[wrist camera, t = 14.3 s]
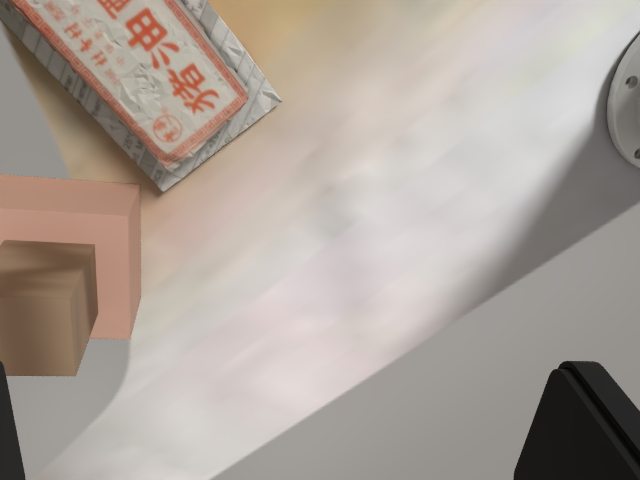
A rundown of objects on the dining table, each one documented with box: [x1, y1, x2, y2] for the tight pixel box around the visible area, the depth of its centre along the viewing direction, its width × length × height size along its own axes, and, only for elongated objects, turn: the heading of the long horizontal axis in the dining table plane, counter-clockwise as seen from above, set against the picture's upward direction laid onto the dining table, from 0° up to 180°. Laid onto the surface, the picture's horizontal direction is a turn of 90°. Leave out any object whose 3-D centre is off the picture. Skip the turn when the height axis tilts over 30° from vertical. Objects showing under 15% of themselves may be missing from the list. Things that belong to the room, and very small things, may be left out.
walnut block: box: [0, 240, 98, 376], centre depth 32 cm, size 5×5×6 cm
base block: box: [0, 174, 141, 339], centre depth 37 cm, size 9×9×5 cm
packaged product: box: [0, 0, 282, 192], centre depth 32 cm, size 18×5×10 cm
